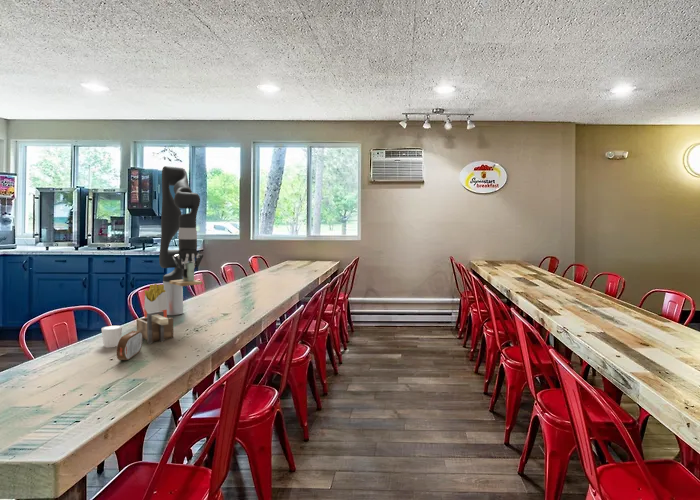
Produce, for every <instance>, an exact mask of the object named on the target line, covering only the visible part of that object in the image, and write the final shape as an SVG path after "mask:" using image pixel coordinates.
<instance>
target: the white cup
mask: <svg viewBox="0 0 700 500" xmlns="http://www.w3.org/2000/svg"><path fill="white" fill-rule="evenodd" d="M122 330H123V326H122V325H118V324H117V325H116V324H115V325H108V326H103V327H101V335H102V336H101V337H102V344H103V347H104V348H115V346H116V347H117V345H118V342H119V340H120V339H121V337H122V334H123V331H122Z"/></svg>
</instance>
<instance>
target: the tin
mask: <svg viewBox="0 0 700 500" xmlns="http://www.w3.org/2000/svg"><path fill="white" fill-rule="evenodd" d="M143 340H144V339H143V334H142V332H140V331H137V330H131V331H129V332H128V333H126V334H124V335H123V336H122V335H121V339H120V340H119V342H118V345H117V346H116V357H117V360H118V361H129V360H131V359H133V357H135V356H136V355H138V354H139V353H140V352H141V350H142V346H143Z"/></svg>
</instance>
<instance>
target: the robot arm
mask: <svg viewBox="0 0 700 500" xmlns="http://www.w3.org/2000/svg"><path fill="white" fill-rule="evenodd" d="M170 186H172V187H173V193H174V197H173V196H172V195H173V194H172V193H171V189H170ZM161 193H162V194H161V195H162V198H161V201H162V202H161V215H160V229H161V231H160V232H161V233H160V236H161V237H160V246H159V247H160V248H159V254H158V255H159V256H158V260H159V266H160V267H161V268H162V269H171V268H172V269H173V268H174V269H173V270H172V271H171V272H169V273H166V274H164V275H163V277H162V285H164V290H165V292H166V298H167V316H178V315H181V314H184V296H183V295H184V294H183V293H184V292H183V291H184V290H183V287H184V286H179V285H175V284H170V281H171V280H181V279H183V277H184V278H187V263H188V262H190V263H194V269H196V268H198V267H199V266H200V263H201V262H202V259H203V258H204V254H201V253H199V251H198V231H197V216H198V210H199V207H200V203H201V197H200V195H199V194H198V193H196V192H193V191H192V189H191V187H190V185H189V178H188V173H187V171H186V169H185V168H184V167H179V166H169V165H166V166H165V165H164V166H163V167H162V170H161ZM181 209H184V210H185V209H188V210H189V209H190V211H189V212H187V213H182V210H181ZM177 232H178V237H177V238H178V249H169V247H170V244H171V242H172V240H173V238H174V237H175V235H176V234H177ZM195 258H196V259H195Z"/></svg>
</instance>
